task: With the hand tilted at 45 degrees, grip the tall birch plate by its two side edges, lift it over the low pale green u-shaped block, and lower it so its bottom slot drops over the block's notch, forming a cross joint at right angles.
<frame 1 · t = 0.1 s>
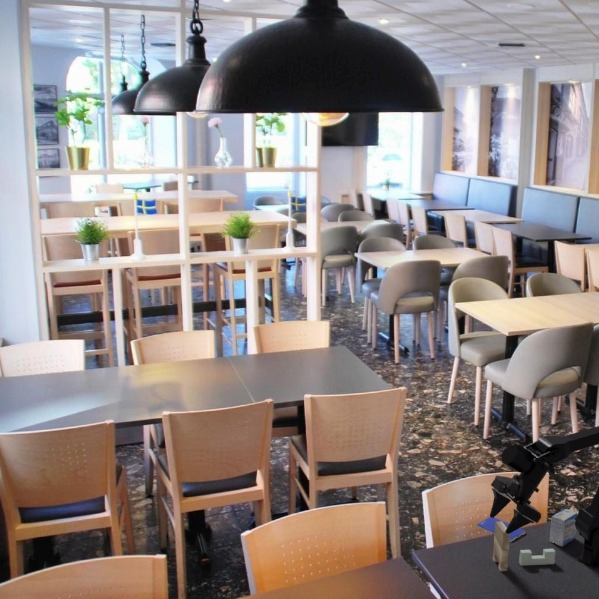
hand: (498, 525, 221), 15 cm above the table, tool tilted 35°, fingers open, 9 cm apart
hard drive: (500, 532, 248), on the table
birch plate: (499, 565, 228), on the table
medicine box: (562, 540, 243), on the table
pale green u-shaped block: (536, 563, 229), on the table
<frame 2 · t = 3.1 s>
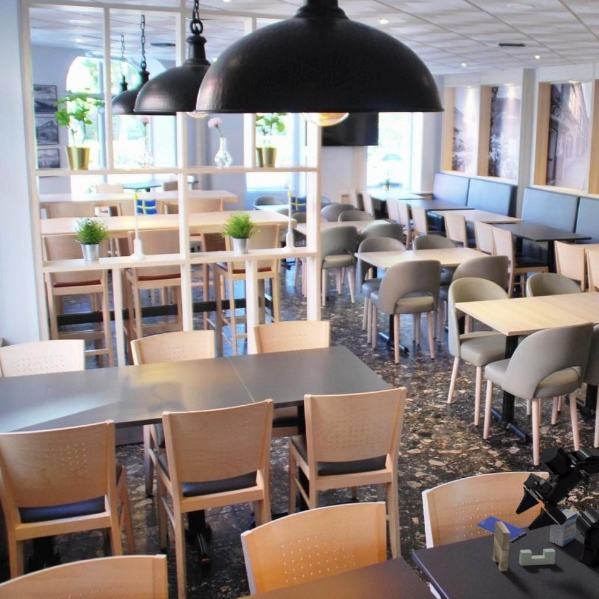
hand: (522, 521, 226), 14 cm above the table, tool tilted 45°, fingers open, 9 cm apart
nothing on the table moved.
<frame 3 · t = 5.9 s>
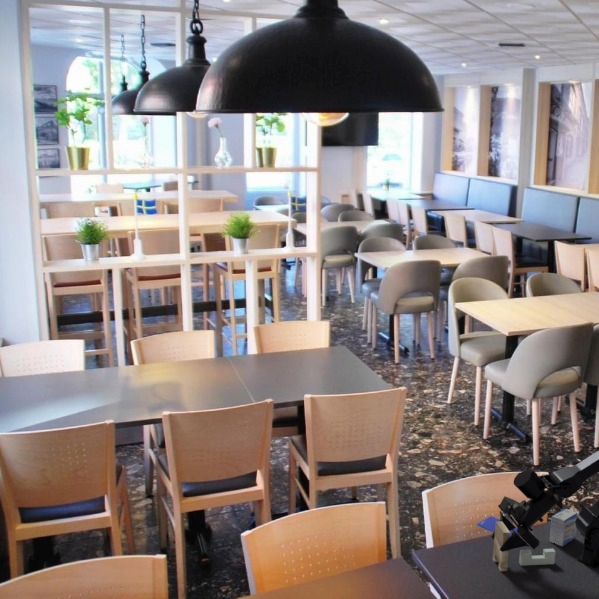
hand: (496, 544, 227), 7 cm above the table, tool tilted 45°, fingers closed on birch plate, 6 cm apart
birch plate: (499, 565, 228), on the table, touching gripper
everything else where it was.
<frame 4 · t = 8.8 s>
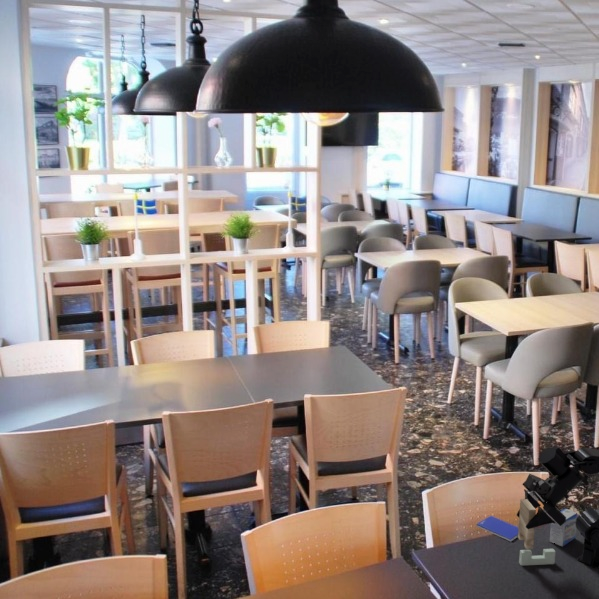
hand: (522, 522, 226), 13 cm above the table, tool tilted 45°, fingers closed on birch plate, 6 cm apart
birch plate: (525, 542, 228), point 7 cm above the table, touching gripper
everything else where it was.
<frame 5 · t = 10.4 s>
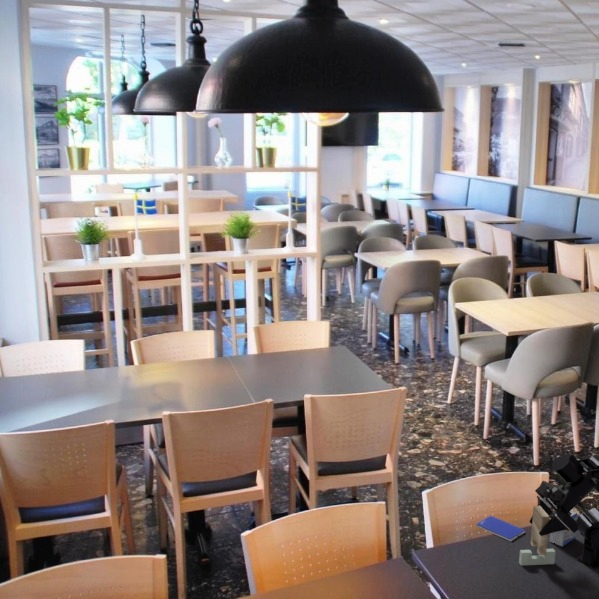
hand: (535, 528, 227), 11 cm above the table, tool tilted 45°, fingers closed on birch plate, 6 cm apart
birch plate: (538, 549, 229), point 4 cm above the table, touching gripper
everything else where it was.
when the fingers open (7 cm above the table, at t = 11.9 s): birch plate stays where it is, on the table.
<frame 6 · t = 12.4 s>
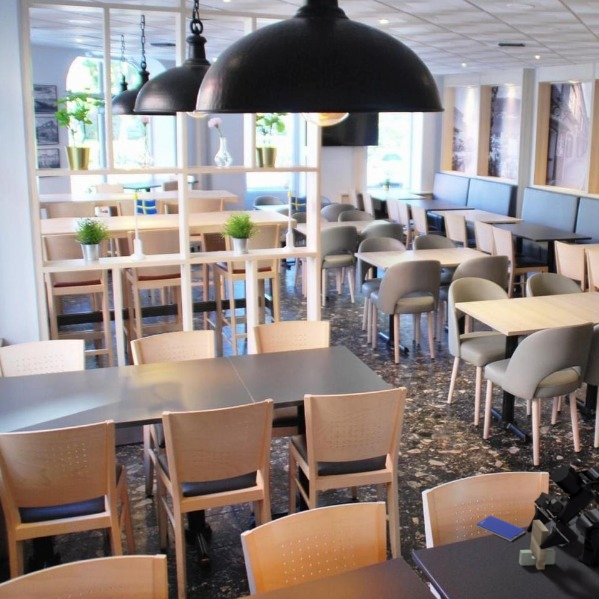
hand: (534, 539, 228), 8 cm above the table, tool tilted 45°, fingers open, 9 cm apart
birch plate: (536, 563, 229), on the table
everything else where it was.
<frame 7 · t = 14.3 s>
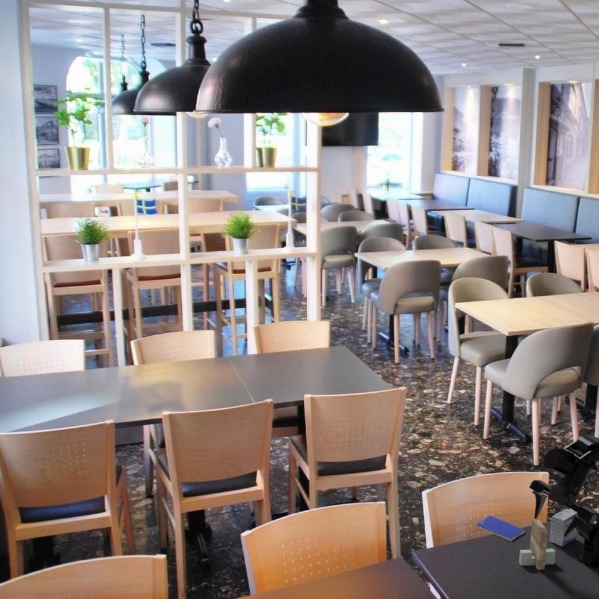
hand: (549, 527, 224), 13 cm above the table, tool tilted 25°, fingers open, 9 cm apart
nothing on the table moved.
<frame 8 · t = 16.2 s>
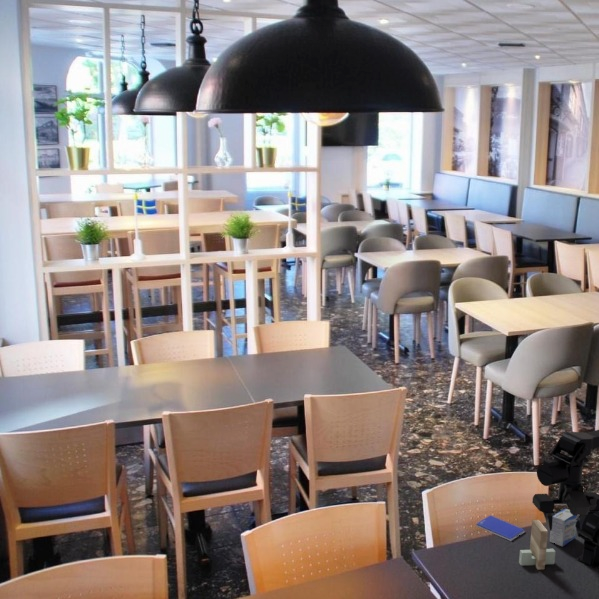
hand: (565, 529, 223), 13 cm above the table, tool pointing down, fingers open, 9 cm apart
nothing on the table moved.
at the end: birch plate 0.0 cm off-centre on the pale green u-shaped block, point 0.0 cm above the pale green u-shaped block's base; birch plate tilted 0°; the gripper is holding nothing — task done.
